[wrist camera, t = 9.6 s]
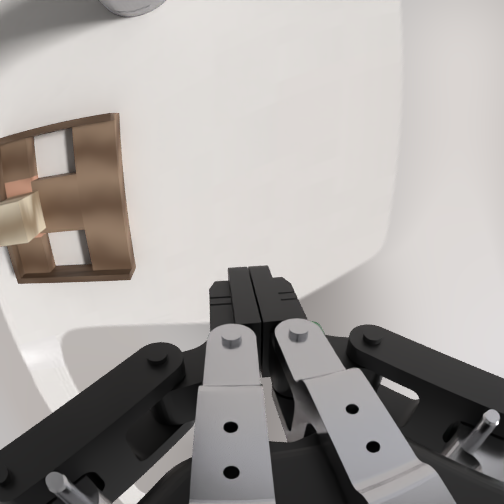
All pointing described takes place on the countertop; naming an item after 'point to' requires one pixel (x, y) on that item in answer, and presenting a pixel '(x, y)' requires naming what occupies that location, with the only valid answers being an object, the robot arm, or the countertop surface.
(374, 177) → the countertop surface
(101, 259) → the box
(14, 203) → the birch block
